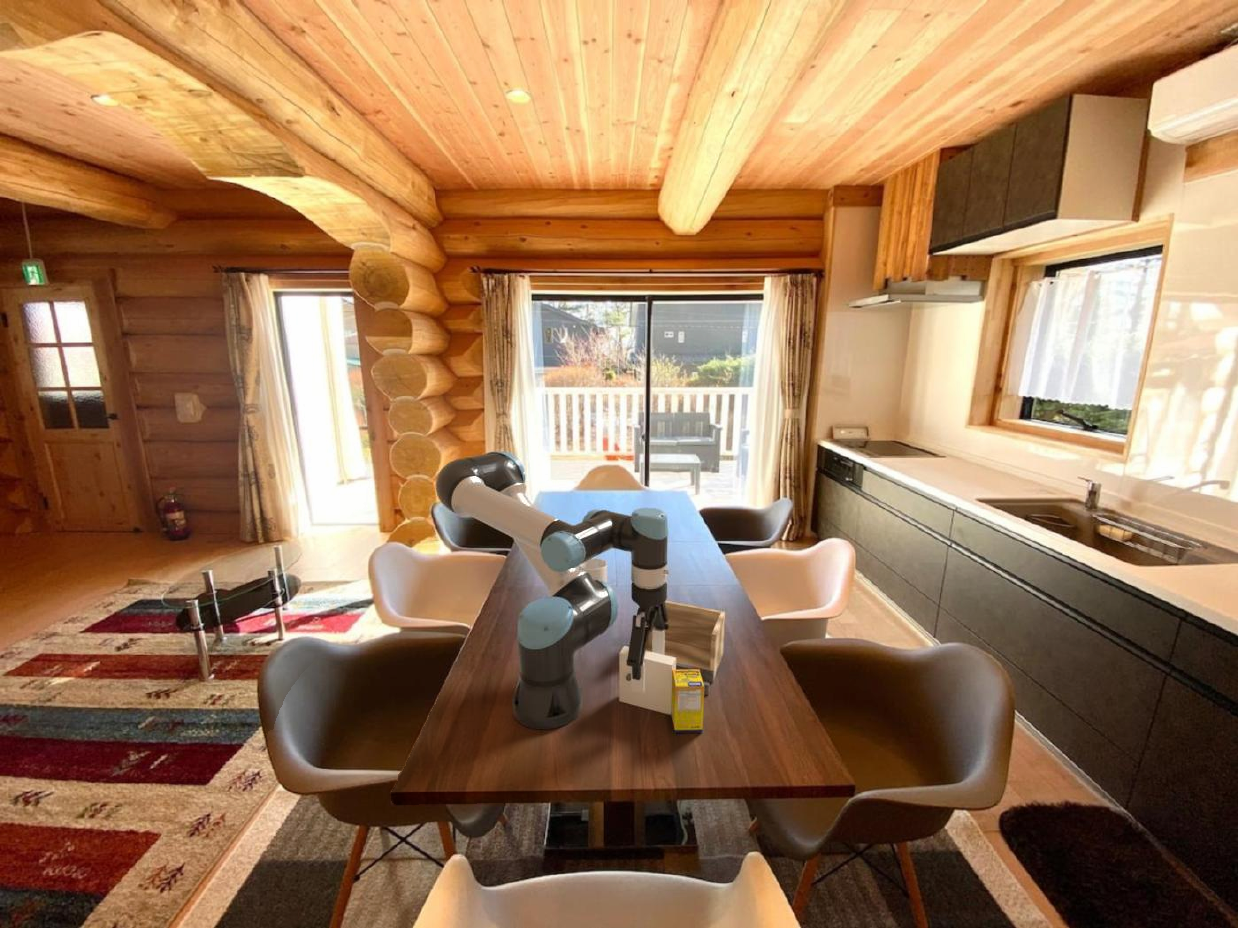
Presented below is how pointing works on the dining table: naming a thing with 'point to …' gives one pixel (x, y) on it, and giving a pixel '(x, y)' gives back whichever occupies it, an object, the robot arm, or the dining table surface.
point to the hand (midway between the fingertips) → (648, 672)
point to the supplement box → (687, 701)
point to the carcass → (694, 639)
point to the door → (648, 682)
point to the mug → (595, 568)
